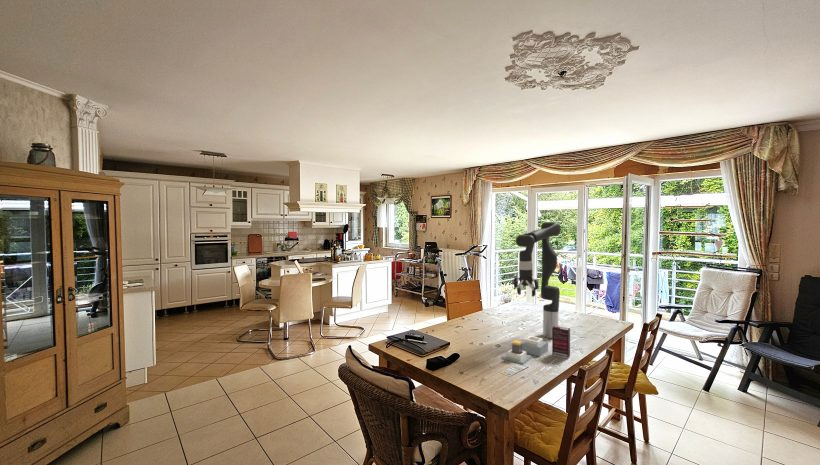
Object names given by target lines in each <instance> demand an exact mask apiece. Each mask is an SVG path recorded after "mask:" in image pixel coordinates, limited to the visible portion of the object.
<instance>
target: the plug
mask: <svg viewBox="0 0 820 465" xmlns="http://www.w3.org/2000/svg"><path fill="white" fill-rule="evenodd" d="M521 341H522V340H516V339H515V340H513V341H512V342H511V349H512V353H516V354H521V353H522V342H521Z"/></svg>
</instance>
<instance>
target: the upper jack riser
mask: <svg viewBox="0 0 820 465" xmlns="http://www.w3.org/2000/svg"><path fill="white" fill-rule="evenodd" d="M520 341H521V342H522V351H526V354H528V355H529V354H530V355H533V356H537V357H542V356H543V355H544V354H546V353H547V352H548V351H549V342H548V341H546V340H544V339H543V338H541V337H537V336H533V335H529V336H527V337H526V338H525V339H523V340H520Z"/></svg>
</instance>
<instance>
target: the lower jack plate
mask: <svg viewBox="0 0 820 465" xmlns="http://www.w3.org/2000/svg"><path fill="white" fill-rule="evenodd" d="M532 358H533V356H532V355H531V354H530V355H529V354H527V353H526V351H522V353H521V354H516V353H512V348H511V349H510V350H508V351H507V352H506V353H505V354H503V355H502V356H501V359H503V360H505V361H509V362H513V363H517V364H520V365H525V364H526V363H527V362H528V361H530V360H532Z"/></svg>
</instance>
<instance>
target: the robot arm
mask: <svg viewBox="0 0 820 465" xmlns="http://www.w3.org/2000/svg"><path fill="white" fill-rule="evenodd" d="M561 230H562V229H561V224H560V223H559V222H557V221H545V222H542V224H541V225H540V228H539V229H534V230H532V231H530V232H527V233H522V234H519V235H518V236H517V237H516V238H515V243H516V245H517V246H518V247H522V248H525V250H521V251H519V253H518V255H519V256H518V259H519V260H518V262H519V263H518V273H519V274H518V276H519V277H518V276H515V277H514V278H513V287H514V288H516V293H517V295H519V296H520V295H521V294H522V292H521V291H522V288H521V287H522V286H526V287H529V288H530V289H531V297H535V296H536V290H539V289H540V296H541V299H543V300H548V301H551V302H550V303H548V304H544V305H543V307H542V308H543V309H542V313H543V319H542V337H544V338H547V339H552V327H553V326H559V308H560V296H561V295H560V294H561V292H560V288H559V287H558V286H553V285H549V280H550V278H551V276H552V275H553V273H554V272H555V270H556V269H557V267H558V256H557V254H556V252H555V250H554V248H553V246H552V245H551V242H550V238H552V237H557V236H559V235H560V233H561ZM537 242H541V284H540V285H539V279H538V278H535V279H534V278H533V258H532V256H533V255H532V254H533V251H534V247H535V244H536V243H537ZM539 286H541V287H539Z"/></svg>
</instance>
